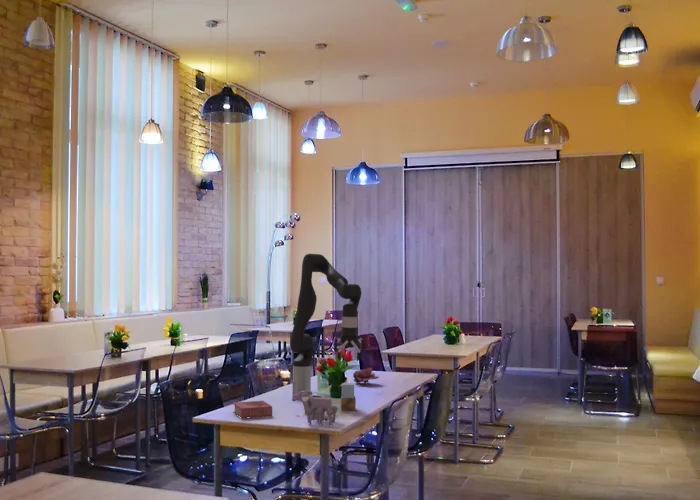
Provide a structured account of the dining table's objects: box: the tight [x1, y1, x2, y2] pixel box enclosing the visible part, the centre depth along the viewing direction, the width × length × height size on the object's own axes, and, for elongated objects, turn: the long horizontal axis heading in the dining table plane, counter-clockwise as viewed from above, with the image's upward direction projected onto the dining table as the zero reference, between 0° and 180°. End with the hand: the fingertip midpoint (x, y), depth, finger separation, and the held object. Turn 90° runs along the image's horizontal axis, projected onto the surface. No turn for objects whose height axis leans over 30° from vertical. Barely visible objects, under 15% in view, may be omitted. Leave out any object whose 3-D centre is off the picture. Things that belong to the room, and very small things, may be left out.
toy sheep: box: [293, 391, 338, 426], centre depth 312 cm, size 20×11×14 cm, turn 73°
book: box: [232, 400, 273, 419], centre depth 326 cm, size 14×15×5 cm
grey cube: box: [341, 382, 355, 398], centre depth 335 cm, size 6×6×6 cm
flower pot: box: [304, 394, 323, 416], centre depth 325 cm, size 9×9×9 cm
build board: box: [332, 403, 357, 413], centre depth 339 cm, size 12×18×1 cm, turn 3°
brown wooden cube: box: [340, 395, 357, 411], centre depth 335 cm, size 6×6×6 cm
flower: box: [352, 367, 380, 385], centre depth 415 cm, size 15×15×10 cm
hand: (348, 360), depth 339 cm, fingers open, 8 cm apart
